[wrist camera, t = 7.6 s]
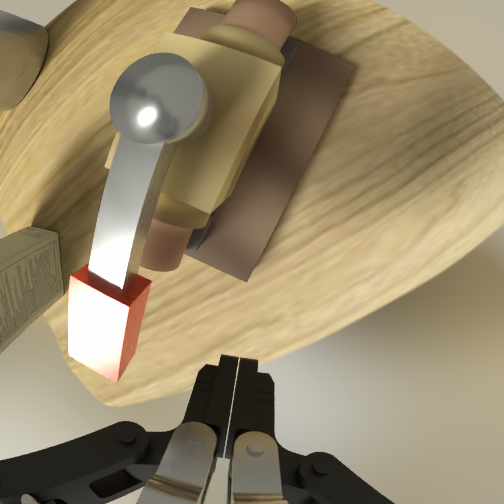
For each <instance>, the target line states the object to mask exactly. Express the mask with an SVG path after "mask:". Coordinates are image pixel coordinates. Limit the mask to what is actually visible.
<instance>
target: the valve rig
mask: <svg viewBox="0 0 504 504" xmlns="http://www.w3.org/2000/svg"><path fill="white" fill-rule="evenodd" d="M296 23H297V17H296V15H295V13H294V12H293V11H292V9H291V8H290V7H288V6H287V5H286V4H285V3H283V2H281V1H280V0H236V1H235V3H234V4H233V6H232V7H231V8H230V10H229V11H228V13H227V14H226V15H224V14H220V13H216V12H212V11H207V10H203V9H198V8H192V7H190V9H189V10H188V12H187V13H186V15H185V16H184V18H183V19H182V21H181V22H180V24H179V25H178V27H177V28H176V30H175V31H174V33H170V32H166V33H165V35H164V37H163V38H162V40H161V42H160V43H159V45H158V47H157V48H156V50H155V52H154V53H173V54H177V55H179V56H181V57H183V58H185V59H186V60H188V61H189V62H190V63H191V64H192V65H193V67H194V68H195V69H196V70H197V71H198V73H199V74H200V75H201V76H202V78H203V79H204V80H205V81H206V83H207V84H208V85H209V87H210V88H211V90H212V92H213V95H214V99H215V111H214V115H213V118H212V121H211V122H210V124H209V126H208V128H207V129H206V130H205V131H204V133H203V134H202V135H200V136H199V137H198V138H197V139H195V140H194V141H192V142H190V143H188V144H186V145H182V146H177V149H176V151H175V154H174V156H173V159H172V162H171V165H170V167H169V170H168V173H167V176H166V178H165V181H164V184H163V187H162V190H161V193H160V196H159V199H158V202H157V205H156V209H155V212H154V215H153V218H152V222H151V225H150V228H149V232H148V235H147V239H146V243H145V246H144V250H143V254H142V257H141V261H140V265H139V266H142V267H144V268H147V269H150V270H154V271H161V272H167V271H173V270H175V269H177V268H178V266H179V264H180V262H181V259H182V256H183V254H186V255H188V256H190V257H193V258H195V259H197V260H199V261H201V262H203V263H205V264H208V265H210V266H212V267H214V268H216V269H218V270H221V271H223V272H225V273H227V274H229V275H232V276H234V277H236V278H238V279H240V280H243V281H245V282H247V281H248V279H249V277H250V275H251V273H252V271H253V270H254V268H255V266H256V264H257V262H258V260H259V258H260V256H261V254H262V252H263V250H264V248H265V246H266V244H267V242H268V240H269V238H270V236H271V234H272V232H273V230H274V228H275V227H276V225H277V223H278V221H279V219H280V217H281V215H282V213H283V211H284V209H285V207H286V205H287V203H288V201H289V199H290V197H291V195H292V193H293V191H294V189H295V187H296V185H297V183H298V181H299V179H300V177H301V175H302V173H303V171H304V169H305V167H306V165H307V163H308V161H309V159H310V157H311V155H312V153H313V151H314V149H315V147H316V145H317V143H318V141H319V139H320V137H321V135H322V133H323V131H324V129H325V127H326V125H327V123H328V121H329V119H330V117H331V115H332V113H333V111H334V109H335V107H336V105H337V103H338V101H339V99H340V97H341V95H342V93H343V90H344V88H345V86H346V84H347V82H348V80H349V78H350V76H351V74H352V72H353V70H354V68H355V67H353V66H352V65H350V64H348V63H346V62H344V61H342V60H341V59H339V58H337V57H335V56H333V55H331V54H329V53H327V52H325V51H323V50H321V49H319V48H317V47H314V46H312V45H310V44H308V43H306V42H303V41H301V40H299V39H296V38H294V37H291V36H289V34H290V33H291V31H292V29H293V28H294V26H295V24H296ZM120 136H121V134H120V133H119V132H118V131H117V132H116V135H115V138H114V140H113V143H112V146H111V149H110V151H109V154H108V157H107V160H106V163H105V166H104V167H105V168H108V169H110V167H111V163H112V160H113V157H114V154H115V150H116V147H117V144H118V141H119V138H120ZM102 196H103V195H102ZM101 200H102V199H101ZM100 205H101V203H100ZM99 209H100V206H99ZM98 211H99V210H98Z"/></svg>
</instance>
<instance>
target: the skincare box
mask: <svg viewBox="0 0 504 504" xmlns="http://www.w3.org/2000/svg"><path fill="white" fill-rule="evenodd" d="M63 295H64V289H63V281H62V272H61V263H60V250H59V240H58V233H57V232H53V231H49V230H45V229H41V228H36V227H30V226H28V227H26V228H24V229H22V230H19V231H17V232H15V233H13V234H10V235H8V236H6V237H5V238H2V239H0V354H1V353H2V352H3V351H4V350H5V349H6V348H7V347H8V346H9V345H10V344H11V343H12V342H13V341H14V340H15V339H16V338H17V337H18V336H19V335H20V334H21V333H22V332H23V331H24V330H25V329H26V328H27V327H29V325H31V324H32V323H33V322H34V321H35V320H36V319H37V318H38V317H39V316H41V315H42V314H43V313H44V312H45V311H46V310H47V309H48V308H50V307H51V306H52V305H53V304H54V303H55V302H56V301H58V300H59V299H60V298H61V297H62V296H63Z"/></svg>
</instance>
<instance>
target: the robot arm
mask: <svg viewBox="0 0 504 504" xmlns="http://www.w3.org/2000/svg"><path fill="white" fill-rule="evenodd" d="M47 46H48V33H47V30H46V29H45V28H44V27H43V26H41V25H38V24H36V23H34V22H31V21H29V20H26V19H23V18H21V17H18V16H16V15H13V14H10V13H7V12H4V11H1V10H0V111H5V110H9V109H11V108H13V107H14V106H15V105H17V104H18V103H19V102H20V101H21V100H22V98H23V97H24V96H25V95H26V93H27V92H28V90H29V89H30V88H31V86H32V84H33V82H34V81H35V79H36V77H37V75H38V73H39V71H40V69H41V66H42V63H43V61H44V58H45V55H46V51H47ZM238 359H239V357H235V356H229V355H223V354H221V357H220V361H219V365H218V366H214V365H209V364H206V365H205V366H204V367H203V368H202V369H201V370H200V371H199V372H198V375H197V378H196V381H195V384H194V387H193V391H192V394H191V397H190V400H189V403H188V407H187V410H186V413H185V416H184V419H183V421H182V423H181V424H180V425H179V426H178V427H177V428H175V429H173V430H170V431H166V432H146V431H145V429H144V428H143V427H142V426H140V425H138V424H137V423H134V422H130V421H122V422H118V423H115V424H113V425H110V426H108V427H106V428H103V429H100V430H98V431H95V432H93V433H90V434H87V435H85V436H82V437H79V438H76V439H74V440H71V441H68V442H65V443H62V444H59V445H56V446H53V447H49V448H47V449H43V450H39V451H36V452H33V453H29V454H25V455H21V456H18V457H14V458H10V459H5V460H1V461H0V504H106V503H108V502H111V501H113V500H115V499H118V498H120V497H122V496H125V495H127V494H129V493H131V492H133V491H135V490H137V489H140V488H142V487H144V488H143V490H142V492H141V494H140V497H139V499H138V501H137V503H136V504H204V503H205V500H206V496H207V493H208V489H209V485H210V482H211V479H212V475H213V473H214V471H215V468H216V462H217V457H220V458H223V453H224V447H225V441H226V435H227V429H228V423H229V417H230V410H231V404H232V398H233V391H234V385H235V379H236V372H237V366H238ZM257 371H258V360H255V359H248V358H242V357H240V363H239V369H238V375H237V381H236V387H235V393H234V400H233V407H232V413H231V420H230V426H229V433H228V440H227V446H226V452H225V458H227V459H230V463H229V471H228V475H227V495H226V496H227V497H226V504H394V503H393V502H392V501H390V500H389V499H387V498H386V497H385V496H383V495H381V493H379V492H378V491H377V490H375V489H374V488H373V487H371V486H370V485H369V484H367V483H366V482H365V481H364V480H362V479H361V478H360V477H358V476H357V475H356V474H354V473H353V472H352V471H351V470H350V469H349V468H347V467H346V466H345V465H344V464H343V463H341V462H340V461H339V460H338V459H337V458H335V457H334V456H333V455H330V454H328V453H325V452H314V453H311V454H309V455H307V456H304V455H300V454H296V453H294V452H291V451H288V450H286V449H285V448H283V447H282V446H281V445H280V444H279V443H278V442H277V440H276V438H275V434H274V382H273V380H272V378H271V376H270V374H268V373H260V372H257Z"/></svg>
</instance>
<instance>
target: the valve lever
mask: <svg viewBox="0 0 504 504" xmlns="http://www.w3.org/2000/svg"><path fill="white" fill-rule="evenodd" d="M214 111H215V99H214V95H213V92H212V90H211V88H210V87H209V85H208V84H207V83H206V81H205V80H204V79H203V78H202V76H201V75H200V74H199V73H198V71H197V70H196V69H195V68H194V67H193V65H192V64H191V63H190V62H189V61H188V60H186V59H185V58H183V57H181V56H179V55H177V54H173V53H154V54H150V55H147V56H145V57H143V58H141V59H139V60H137V61H136V62H134V63H133V64H131V65H130V66H129V67H128V68H127V69H126V70H125V71H124V72H123V73H122V74H121V76H120V77H119V79H118V80H117V82H116V84H115V86H114V88H113V91H112V94H111V98H110V115H111V119H112V122H113V124H114V126H115V128H116V129H117V131H118V132H119V133H120V134H121V136H120V138H119V141H118V144H117V147H116V150H115V154H114V157H113V160H112V163H111V167H110V170H109V174H108V177H107V181H106V185H105V188H104V192H103V196H102V200H101V205H100V209H99V213H98V218H97V223H96V228H95V233H94V238H93V244H92V250H91V256H90V263H88V264H87V265H85V266H84V267H82V268H81V269H79V270H78V271H76V272H75V273H73V274H72V275H70V287H69V307H68V344H69V355H70V356H71V357H73V358H74V359H76V360H78V361H79V362H81V363H83V364H84V365H86V366H88V367H89V368H91V369H93V370H95V371H96V372H98V373H100V374H102V375H104V376H106V377H107V378H109V379H111V380H113V381H115V382H118V380H119V379H120V377H121V375H122V374H123V372H124V371H125V369H126V367H127V366H128V364H129V362H130V361H131V359H132V357H133V356H134V354H135V350H136V346H137V341H138V336H139V332H140V327H141V323H142V319H143V314H144V310H145V306H146V302H147V298H148V294H149V290H150V287H151V283H152V281H151V280H149V279H146V278H144V277H142V276H140V275H138V274H137V273H138V269H139V265H140V261H141V257H142V254H143V250H144V246H145V243H146V239H147V235H148V232H149V228H150V225H151V222H152V218H153V215H154V212H155V209H156V205H157V202H158V199H159V196H160V193H161V190H162V187H163V184H164V181H165V178H166V176H167V173H168V170H169V167H170V165H171V162H172V159H173V156H174V154H175V151H176V149H177V146H182V145H186V144H188V143H190V142H192V141H194V140H195V139H197V138H198V137H199V136H200V135H202V134H203V133H204V131H205V130H206V129H207V128H208V126H209V124H210V122H211V121H212V118H213V115H214Z"/></svg>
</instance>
